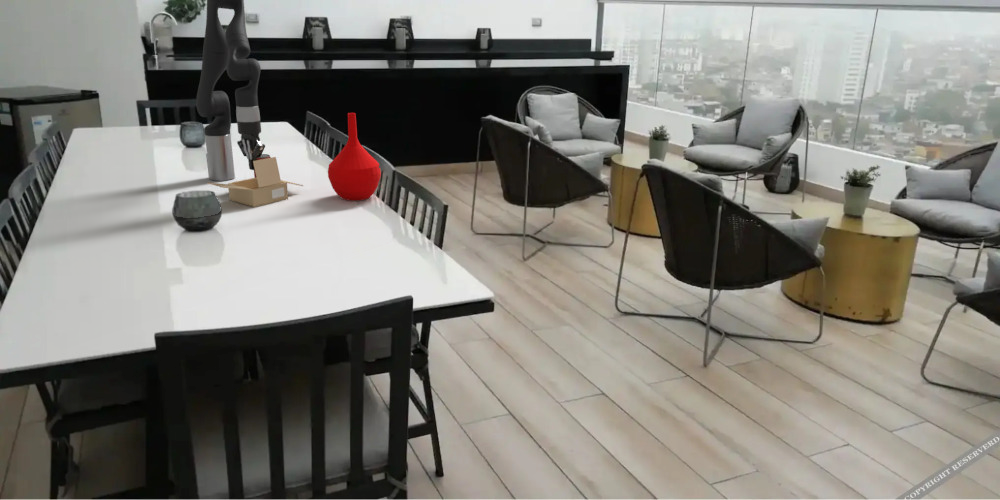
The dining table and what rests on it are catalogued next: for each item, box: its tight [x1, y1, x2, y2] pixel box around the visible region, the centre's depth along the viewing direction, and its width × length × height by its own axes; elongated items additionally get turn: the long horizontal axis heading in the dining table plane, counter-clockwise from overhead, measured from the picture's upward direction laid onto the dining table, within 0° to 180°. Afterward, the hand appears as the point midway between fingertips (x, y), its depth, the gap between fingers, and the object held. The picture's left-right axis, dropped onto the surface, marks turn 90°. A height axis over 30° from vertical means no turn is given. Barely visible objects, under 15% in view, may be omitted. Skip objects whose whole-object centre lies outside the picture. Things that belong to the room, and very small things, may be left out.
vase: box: [327, 112, 382, 202], centre depth 258 cm, size 18×18×30 cm
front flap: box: [253, 156, 282, 187], centre depth 251 cm, size 9×9×1 cm
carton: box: [220, 177, 304, 208], centre depth 262 cm, size 23×23×6 cm
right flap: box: [207, 182, 247, 190], centre depth 246 cm, size 9×9×1 cm
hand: (253, 169), depth 255 cm, fingers closed
